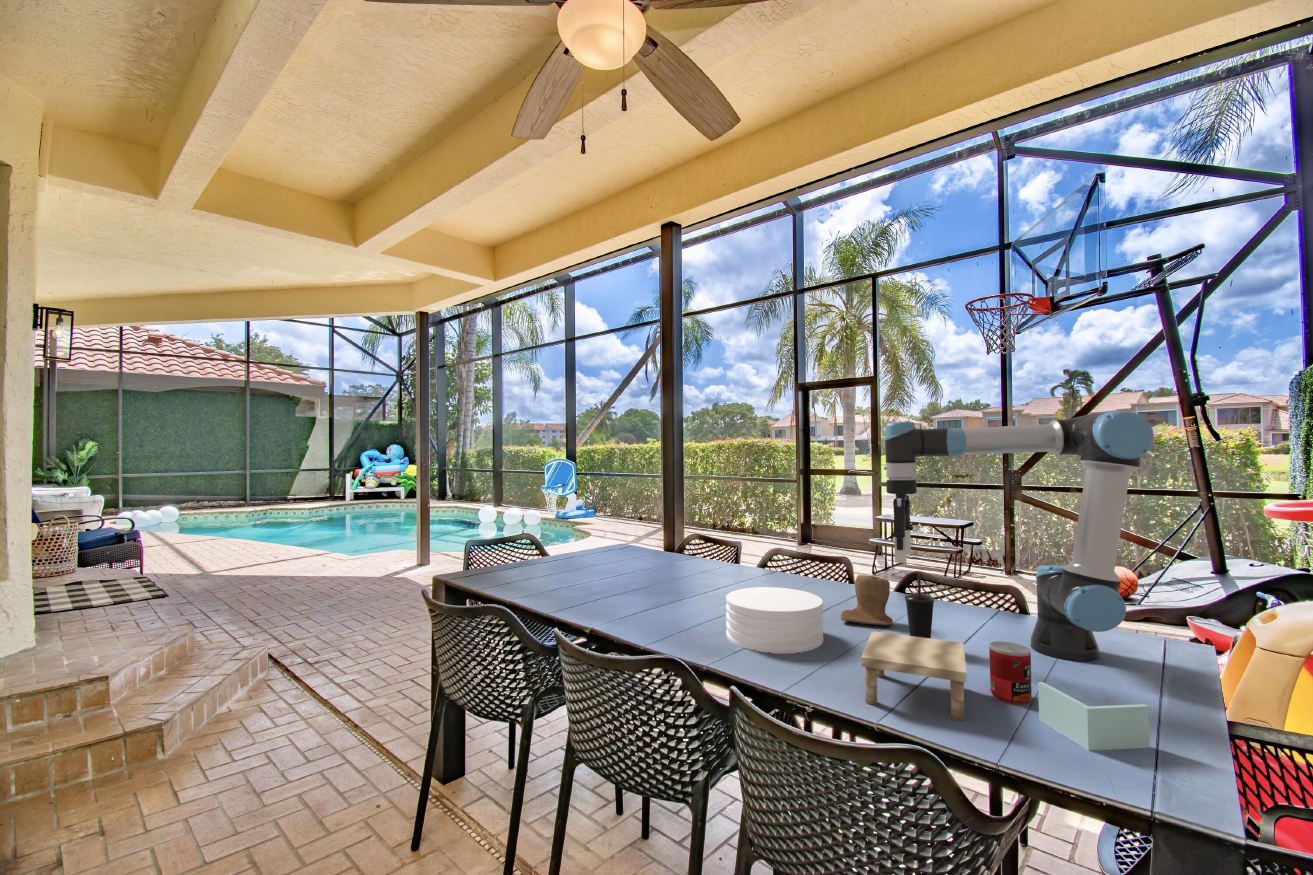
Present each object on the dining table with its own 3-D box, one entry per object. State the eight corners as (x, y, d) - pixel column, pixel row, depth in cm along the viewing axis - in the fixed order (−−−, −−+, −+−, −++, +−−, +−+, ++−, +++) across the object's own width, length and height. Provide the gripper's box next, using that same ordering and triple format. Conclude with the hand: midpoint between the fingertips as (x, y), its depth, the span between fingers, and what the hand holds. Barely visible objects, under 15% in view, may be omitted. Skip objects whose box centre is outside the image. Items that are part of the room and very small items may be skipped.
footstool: (964, 686, 132) (963, 642, 132) (967, 723, 114) (966, 672, 114) (872, 671, 141) (871, 630, 141) (862, 703, 123) (861, 656, 123)
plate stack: (834, 632, 172) (834, 594, 173) (805, 661, 149) (805, 616, 149) (748, 618, 187) (748, 583, 188) (710, 642, 164) (709, 602, 164)
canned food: (1018, 707, 121) (1017, 655, 121) (982, 693, 128) (981, 644, 128) (1039, 700, 124) (1038, 649, 124) (1003, 687, 131) (1002, 638, 131)
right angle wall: (1149, 747, 104) (1148, 706, 104) (1088, 750, 103) (1087, 708, 103) (1094, 717, 116) (1093, 680, 116) (1039, 719, 115) (1038, 682, 115)
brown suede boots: (893, 619, 184) (892, 573, 185) (892, 630, 173) (891, 580, 174) (844, 614, 190) (843, 569, 191) (840, 624, 179) (839, 576, 180)
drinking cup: (929, 642, 162) (928, 571, 162) (940, 651, 154) (938, 577, 155) (901, 641, 163) (900, 571, 163) (910, 651, 155) (909, 577, 156)
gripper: (891, 476, 166) (893, 549, 166) (880, 481, 144) (882, 564, 144) (919, 477, 163) (921, 551, 162) (912, 481, 141) (914, 567, 140)
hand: (903, 558), depth 153 cm, fingers open, 13 cm apart
